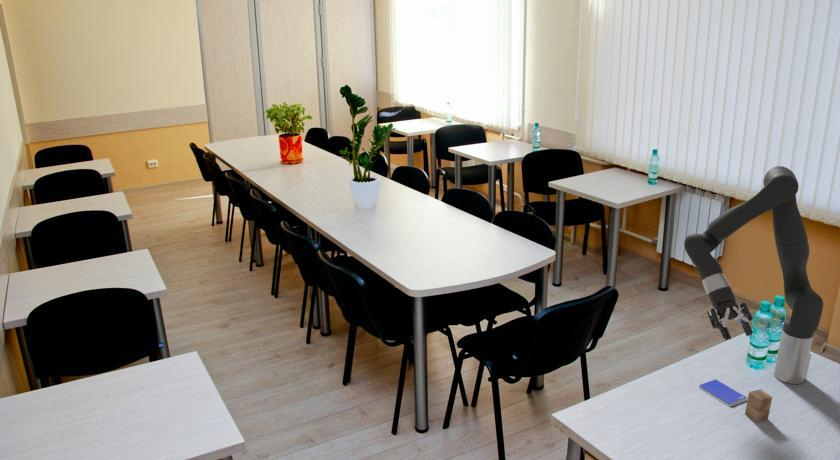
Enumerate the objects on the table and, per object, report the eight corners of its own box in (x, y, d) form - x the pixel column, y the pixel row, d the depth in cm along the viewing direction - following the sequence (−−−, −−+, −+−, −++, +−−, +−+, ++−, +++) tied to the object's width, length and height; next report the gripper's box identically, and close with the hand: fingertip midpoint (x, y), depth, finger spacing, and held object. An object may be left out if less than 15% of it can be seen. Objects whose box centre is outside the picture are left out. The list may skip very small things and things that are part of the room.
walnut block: (756, 411, 218) (760, 389, 215) (767, 419, 214) (772, 397, 211) (744, 413, 217) (749, 392, 214) (756, 422, 213) (760, 399, 210)
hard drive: (747, 397, 224) (716, 378, 234) (730, 403, 220) (699, 384, 230) (746, 401, 224) (715, 382, 234) (729, 407, 221) (698, 388, 231)
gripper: (707, 288, 219) (728, 337, 213) (743, 282, 224) (764, 330, 217) (693, 297, 225) (714, 344, 219) (728, 291, 230) (749, 337, 224)
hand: (739, 337), depth 218 cm, fingers open, 8 cm apart
